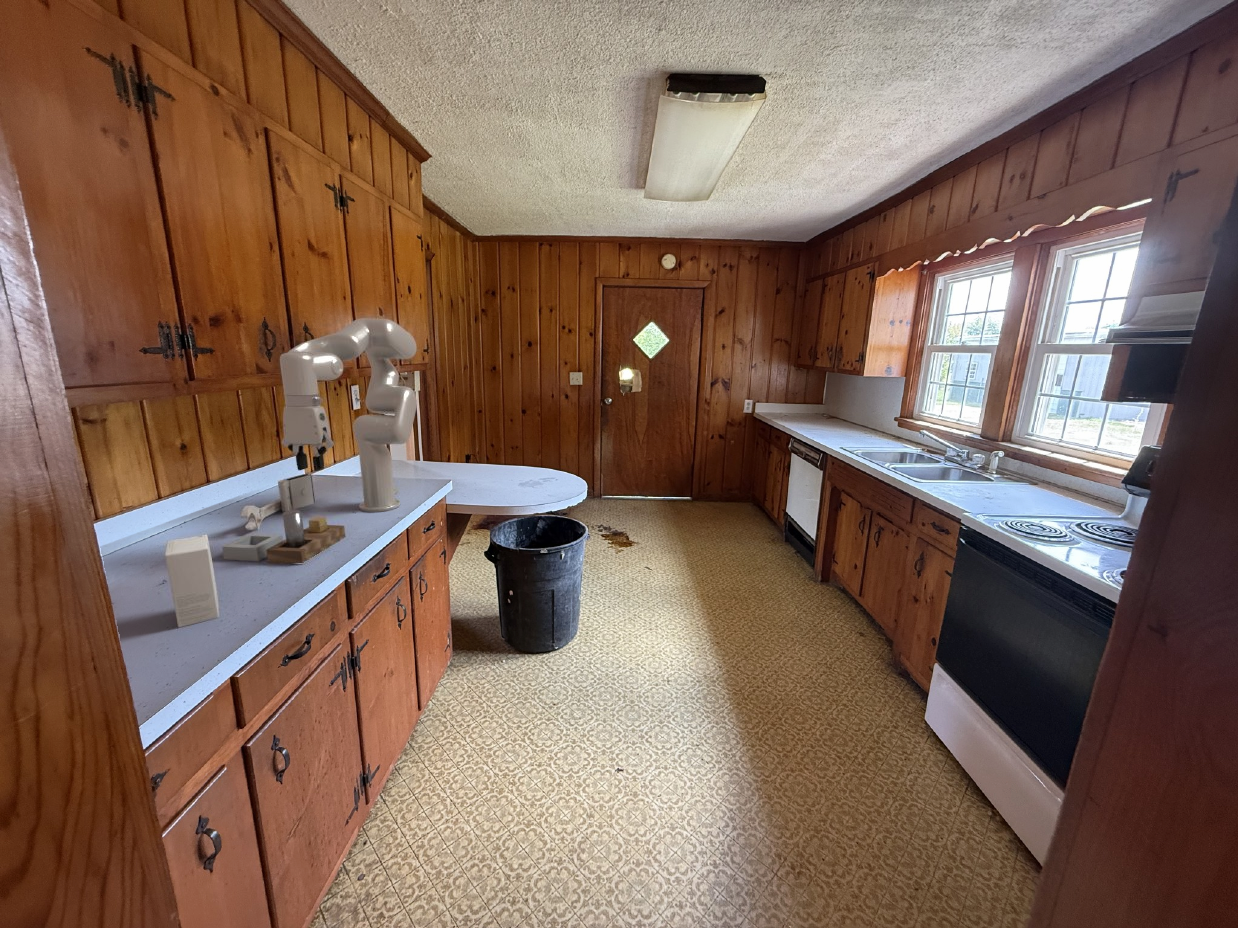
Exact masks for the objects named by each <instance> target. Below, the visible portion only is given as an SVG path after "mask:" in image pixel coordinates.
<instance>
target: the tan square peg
mask: <svg viewBox="0 0 1238 928" xmlns="http://www.w3.org/2000/svg"><path fill="white" fill-rule="evenodd" d="M327 525H328V522H327V516H315V517H312V518H310V519H308V527H309V529H310V533H320V534H321V533H323V532H325V531H326V530H328V529H327Z"/></svg>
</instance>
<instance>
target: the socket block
mask: <svg viewBox="0 0 1238 928" xmlns="http://www.w3.org/2000/svg"><path fill="white" fill-rule="evenodd" d="M303 529H304V528H303ZM327 529H328V530H326V531H325V532H323V533H321V534H320V533H310V529H309V526H308V527H306V528H305V529H304V536H305V544H306V545H304V546H302V547H300V548H287V542H286V538H285V539H283V541H281V542H280V543H278V544H276V545H274V546H272V547H270V548H268V549H266V551H267V556H266V557H267V563H271V564H272V563H273V564H289V563H304V562H305V561H307V560H309V559H310V558H312V557H313V558H315V557H316V556H318V555H319V553H320V552H321V553H323V552H325V551H326V550H327V549H329V548H330V546H331V547H332V546H333V545H335V544H336V543H338V542H340V541H341V539H342V540H343V539H345V538H346V531H345V530H346V528H345V525H336V524H327ZM344 537H345V538H344ZM325 549H326V550H325ZM322 551H323V552H322ZM321 553H320V554H321ZM317 554H318V555H317ZM315 555H316V556H315ZM314 556H315V557H314ZM313 558H312V559H313ZM310 560H311V559H310ZM310 560H309V561H310ZM307 562H308V561H307ZM305 563H306V562H305ZM305 563H304V564H305Z"/></svg>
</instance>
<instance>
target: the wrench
mask: <svg viewBox="0 0 1238 928" xmlns="http://www.w3.org/2000/svg"><path fill="white" fill-rule="evenodd" d="M280 510H282V507H281V500H280V498H279V499H276V500H274V501H272V502H270V503H268V504H266V505H264V506H261V507H257V506H255V505H245V506H243V508H242V510H241V514H240V519H248V520H249V521H248V522H247V524H246V525H245V526H244V527H245V529H246V530H247V531H259V530H260V526H261V524H262V523H263V520H265V518H266V517H269V516H270V515H273V514H274V513H276V512H279V511H280Z"/></svg>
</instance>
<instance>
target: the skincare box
mask: <svg viewBox="0 0 1238 928" xmlns="http://www.w3.org/2000/svg"><path fill="white" fill-rule="evenodd" d="M209 541H210V540H209V538H208V535H207V534H203V535H196V536H191V537H185V538H184V537H183V538H179V539H178V538H177V539H172V540H167V542H166V547H165V552H164V557H165V562H166V566H167V567H166V568H167V573H168V578H169V583H170V589H171V594H172V600H173V605H174V612H175V616H176V622H177V626H178V628H184V627H188V626H191V625H195V624H199V623H203V622H208V621H210V620H211V621H212V620H216V619H219V617H220V611H219V610H220V609H219V608H220V607H219V605H220V604H219V597H218V591H217V590H218V589H217V583H216V576H215V570H214V565H213V564H214V563H213V560H212V551H211V549H210V547H211V546H210V542H209Z"/></svg>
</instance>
